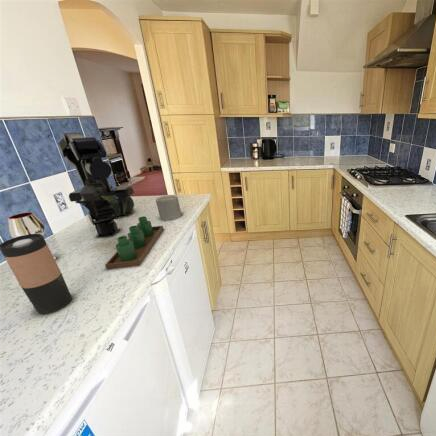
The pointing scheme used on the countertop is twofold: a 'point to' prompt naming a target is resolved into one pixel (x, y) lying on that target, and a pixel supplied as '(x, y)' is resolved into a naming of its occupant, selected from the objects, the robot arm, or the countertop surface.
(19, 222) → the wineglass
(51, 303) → the travel mug
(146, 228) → the bottle near
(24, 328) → the countertop surface
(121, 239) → the green bottle
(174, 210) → the coffee mug
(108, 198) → the squash
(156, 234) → the tray
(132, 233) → the bottle middle
